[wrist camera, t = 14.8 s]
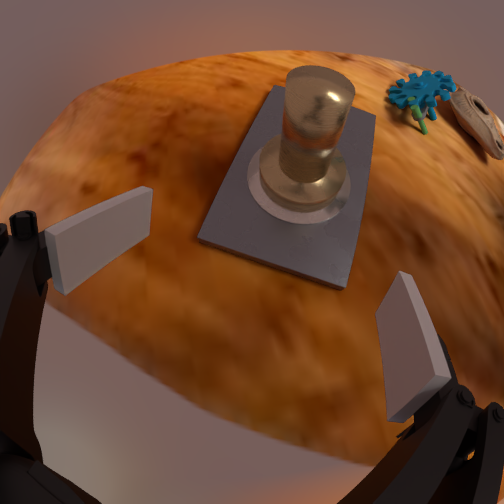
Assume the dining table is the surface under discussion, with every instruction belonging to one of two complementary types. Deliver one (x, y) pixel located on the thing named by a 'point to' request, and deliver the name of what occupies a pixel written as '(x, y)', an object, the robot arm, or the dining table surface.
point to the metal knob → (308, 141)
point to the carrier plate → (285, 221)
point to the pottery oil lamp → (477, 121)
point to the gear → (422, 94)
